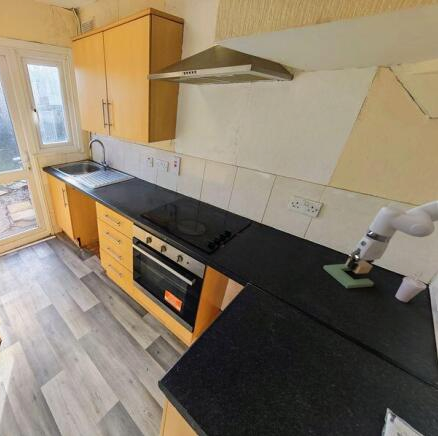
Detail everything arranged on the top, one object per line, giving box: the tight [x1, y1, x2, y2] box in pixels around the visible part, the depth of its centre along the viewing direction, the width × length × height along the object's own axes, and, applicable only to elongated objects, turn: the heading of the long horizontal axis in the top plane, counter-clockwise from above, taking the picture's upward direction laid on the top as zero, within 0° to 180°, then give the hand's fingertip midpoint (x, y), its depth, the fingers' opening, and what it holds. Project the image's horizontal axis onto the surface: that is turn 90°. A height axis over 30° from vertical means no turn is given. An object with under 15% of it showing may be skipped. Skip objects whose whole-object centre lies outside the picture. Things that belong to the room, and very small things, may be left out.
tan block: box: [344, 257, 373, 275], centre depth 102 cm, size 6×6×4 cm
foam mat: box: [322, 263, 375, 289], centre depth 105 cm, size 13×13×2 cm
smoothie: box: [394, 272, 427, 303], centre depth 91 cm, size 6×6×14 cm
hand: (356, 267), depth 103 cm, fingers closed on tan block, 6 cm apart
